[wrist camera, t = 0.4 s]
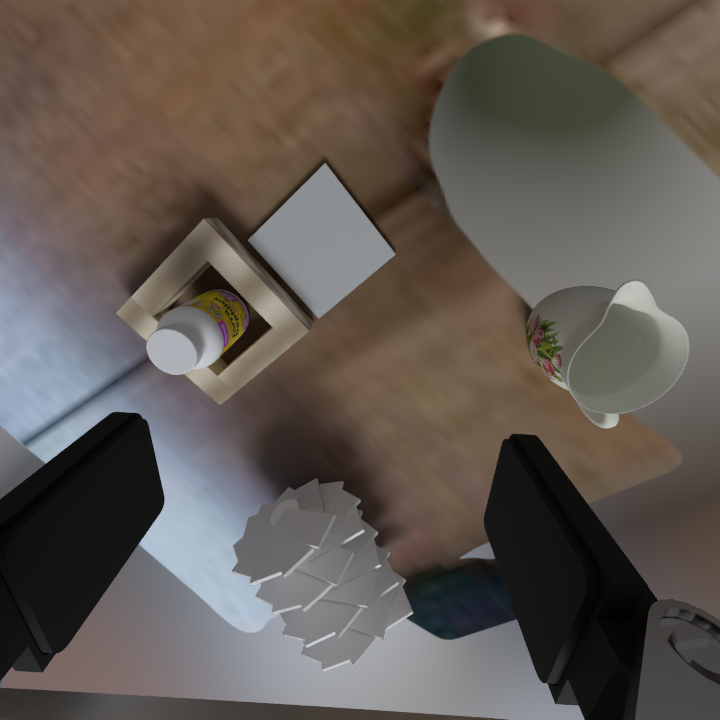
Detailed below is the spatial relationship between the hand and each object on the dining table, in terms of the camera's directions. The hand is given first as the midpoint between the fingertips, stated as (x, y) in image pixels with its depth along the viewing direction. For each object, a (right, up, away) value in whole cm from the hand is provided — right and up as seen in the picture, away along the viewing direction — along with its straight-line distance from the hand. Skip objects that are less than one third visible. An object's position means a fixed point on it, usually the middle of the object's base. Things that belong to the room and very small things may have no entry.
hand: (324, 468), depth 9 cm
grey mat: (-3, +16, +31) cm, 35 cm away
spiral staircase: (-4, -23, +49) cm, 55 cm away
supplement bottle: (-16, +9, +35) cm, 40 cm away
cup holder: (-16, +9, +35) cm, 40 cm away
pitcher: (+26, +7, +35) cm, 44 cm away
